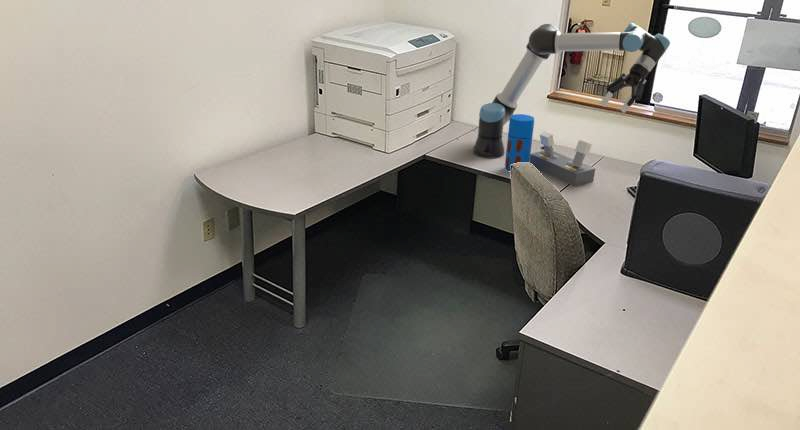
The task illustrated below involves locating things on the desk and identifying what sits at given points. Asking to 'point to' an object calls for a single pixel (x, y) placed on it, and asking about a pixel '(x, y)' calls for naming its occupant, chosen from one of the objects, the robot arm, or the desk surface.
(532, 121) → the thermos
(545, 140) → the inner lever
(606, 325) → the desk surface
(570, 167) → the switch box
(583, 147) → the outer lever
